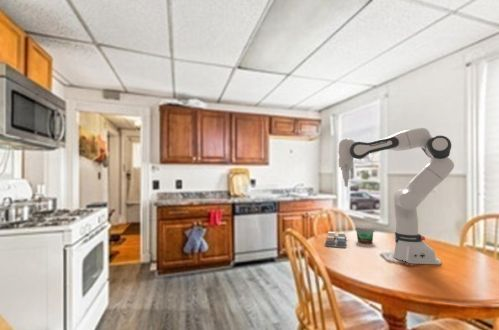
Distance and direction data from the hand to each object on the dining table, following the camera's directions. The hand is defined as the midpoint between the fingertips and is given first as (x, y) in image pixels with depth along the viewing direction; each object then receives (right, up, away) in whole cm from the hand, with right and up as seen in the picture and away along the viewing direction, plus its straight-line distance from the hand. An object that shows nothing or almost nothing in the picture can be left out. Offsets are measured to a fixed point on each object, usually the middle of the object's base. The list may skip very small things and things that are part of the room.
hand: (346, 186), depth 171 cm
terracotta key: (-7, -38, +11) cm, 40 cm away
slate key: (0, -38, +9) cm, 39 cm away
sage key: (+5, -38, +22) cm, 44 cm away
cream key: (-2, -38, +24) cm, 45 cm away
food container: (+18, -41, +14) cm, 47 cm away
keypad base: (-1, -40, +17) cm, 44 cm away
